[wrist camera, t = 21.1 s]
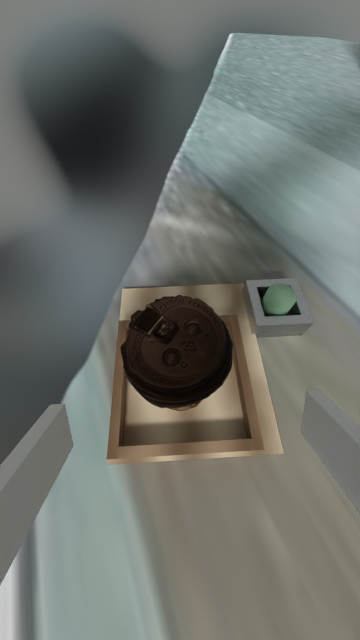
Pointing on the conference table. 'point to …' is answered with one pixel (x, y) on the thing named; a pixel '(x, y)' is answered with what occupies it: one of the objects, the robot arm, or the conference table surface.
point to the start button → (278, 300)
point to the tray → (211, 413)
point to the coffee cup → (177, 352)
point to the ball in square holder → (275, 325)
